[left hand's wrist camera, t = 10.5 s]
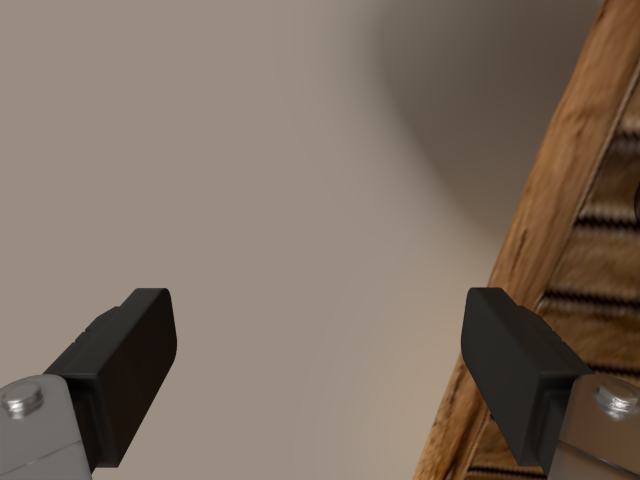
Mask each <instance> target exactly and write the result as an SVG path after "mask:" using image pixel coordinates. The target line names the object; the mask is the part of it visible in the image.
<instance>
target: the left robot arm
mask: <svg viewBox="0 0 640 480" xmlns="http://www.w3.org/2000/svg"><path fill="white" fill-rule="evenodd" d="M635 210H636V215H637V218H638V220H639V222H640V186H639V189H638V191H637V195H636V201H635ZM176 351H177V336H176V329H175V322H174V315H173V308H172V302H171V296H170V292H169V291H168V289H166V288H137V289H135V290H134V291H133V293H132V294H131V295H130V296H129V297H128V298H127V299H126V300H125V301H124V302H123V304H122V305H121V306H120V307H114V308H112V309H110V310H108V311H107V312H105V313H103V314H102V315H100V316H98V317H97V318H96V319H95V320H94V321H93V322H92V323H91V324H90V325H89V326H88V327H87V328H86V329H85V332H82V333H81V334H80V335H79V336H78V337H77V339H76V340H75V343H72V344H71V345H70V346H69V347H68V348H67V349H66V350H65V351H64V352H63V353H62V354H61V355H60V356H59V357H58V358H57V359H56V360H55V361H54V362H53V363H52V364H51V366H50V367H49V368H48V369H47V370H46V371H45V372H44V373H43V374H42V375H35V376H30V377H27V378H23V379H20V380H17V381H15V382H12V383H10V384H8V385H6V386H4V387H2V388H0V480H92V476H91V475H92V473H93V471H94V470H95V468H117V467H118V466H119V464H120V462H121V461H122V459H123V457H124V455H125V453H126V451H127V449H128V447H129V445H130V444H131V441H132V440H133V438H134V436H135V434H136V432H137V430H138V428H139V426H140V425H141V423H142V421H143V419H144V417H145V415H146V413H147V411H148V410H149V408H150V406H151V404H152V402H153V400H154V398H155V396H156V394H157V393H158V391H159V389H160V387H161V385H162V383H163V381H164V379H165V377H166V375H167V374H168V372H169V370H170V368H171V366H172V364H173V362H174V360H175V356H176ZM461 351H462V356H463V359H464V362H465V364H466V366H467V368H468V370H469V371H470V373H471V375H472V377H473V379H474V381H475V383H476V385H477V387H478V389H479V391H480V392H481V394H482V396H483V398H484V400H485V402H486V404H487V406H488V408H489V410H490V412H491V414H492V415H493V417H494V419H495V421H496V423H497V425H498V427H499V429H500V431H501V433H502V435H503V436H504V438H505V440H506V442H507V444H508V446H509V448H510V450H511V452H512V454H513V456H514V457H515V459H516V461H517V463H518V465H519V466H541V467H542V469H543V471H544V472H545V474H546V476H547V478H548V480H640V388H638V387H636V386H634V385H632V384H630V383H628V382H625V381H623V380H620V379H617V378H614V377H610V376H605V375H598V374H595V373H594V372H593V371H592V370H591V369H590V368H589V367H588V366H587V365H586V364H585V363H584V362H583V361H582V360H581V359H580V358H579V357H578V355H577V354H576V353H575V352H574V351H573V350H572V349H571V348H570V347H569V346H568V345H567V344H566V343H565V342H562V339H561V338H560V337H559V336H558V335H557V333H556V332H555V331H552V328H551V327H550V326H549V325H548V324H547V323H546V322H545V321H544V320H543V319H542V318H541V317H540V316H539V315H537V314H535V313H534V312H532V311H530V310H528V309H527V308H525V307H523V306H517V305H516V304H515V302H514V301H513V300H512V299H511V298H510V297H509V296H508V295H507V294H506V292H505V291H504V290H503V289H502V288H470V289H469V291H468V294H467V299H466V306H465V313H464V320H463V327H462V334H461Z"/></svg>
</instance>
